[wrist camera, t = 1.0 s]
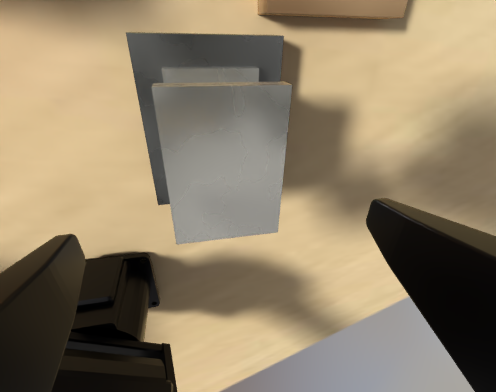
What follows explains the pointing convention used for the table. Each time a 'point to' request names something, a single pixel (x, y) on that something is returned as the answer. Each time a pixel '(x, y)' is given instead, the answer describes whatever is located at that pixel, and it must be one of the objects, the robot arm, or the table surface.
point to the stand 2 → (334, 8)
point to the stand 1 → (192, 55)
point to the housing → (222, 150)
